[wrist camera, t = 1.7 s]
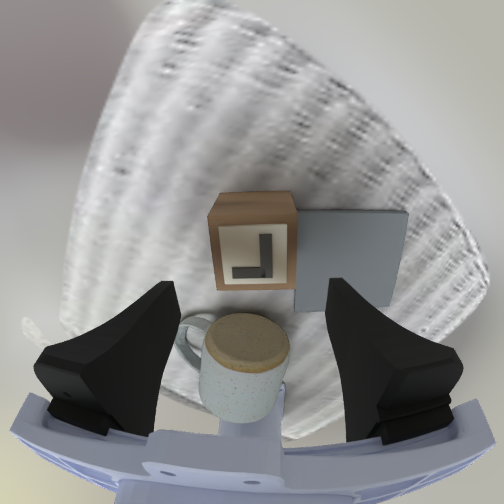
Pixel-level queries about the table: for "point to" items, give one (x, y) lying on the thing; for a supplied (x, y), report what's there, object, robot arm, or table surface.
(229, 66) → the table surface
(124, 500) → the robot arm
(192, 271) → the table surface
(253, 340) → the ceramic mug
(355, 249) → the slate mat
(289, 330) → the table surface
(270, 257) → the letter cube
